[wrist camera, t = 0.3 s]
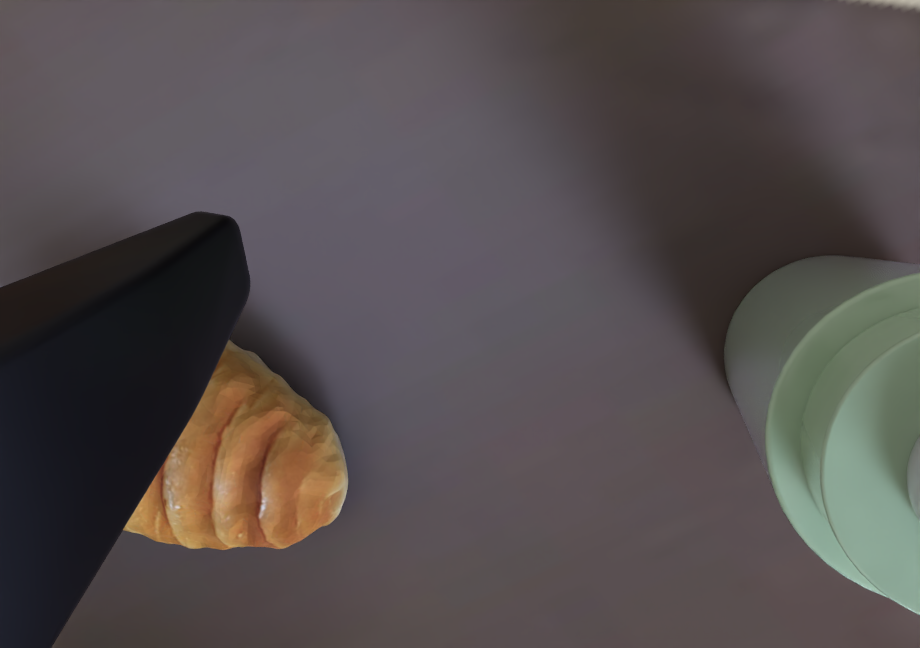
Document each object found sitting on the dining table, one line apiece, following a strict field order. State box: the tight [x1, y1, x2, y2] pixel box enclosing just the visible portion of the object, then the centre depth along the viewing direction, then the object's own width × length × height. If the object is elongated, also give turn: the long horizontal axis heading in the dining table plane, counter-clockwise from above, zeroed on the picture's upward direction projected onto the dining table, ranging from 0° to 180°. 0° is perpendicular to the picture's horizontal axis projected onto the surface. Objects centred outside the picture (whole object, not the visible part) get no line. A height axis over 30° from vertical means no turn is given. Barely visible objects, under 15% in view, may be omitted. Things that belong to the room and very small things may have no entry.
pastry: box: [123, 340, 348, 550], centre depth 24 cm, size 9×7×4 cm
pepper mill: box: [724, 255, 920, 615], centre depth 15 cm, size 5×5×13 cm
